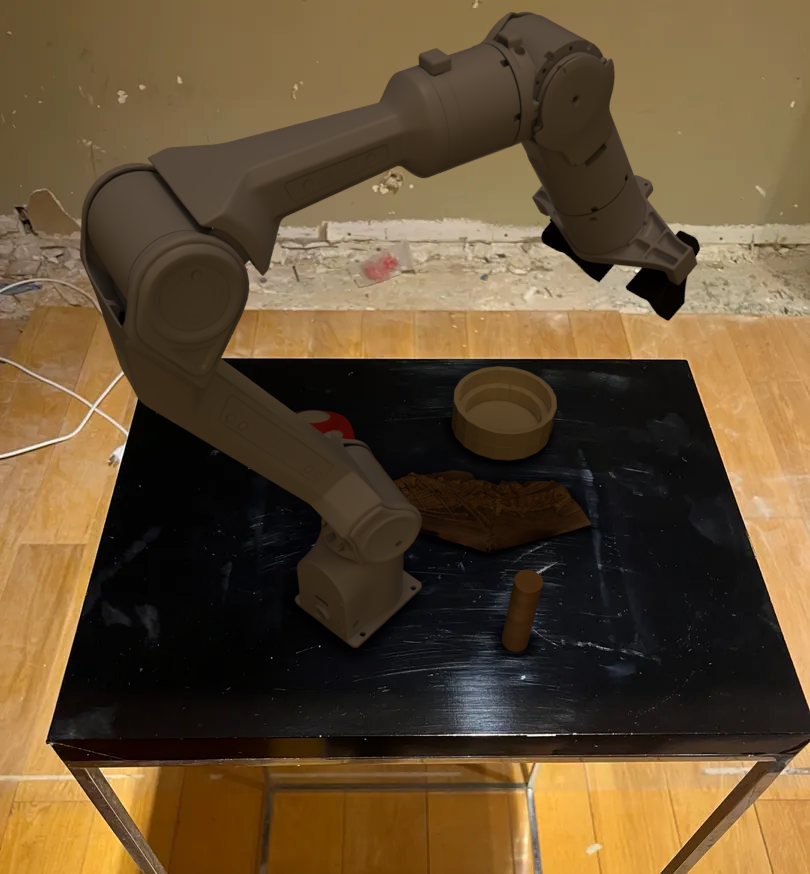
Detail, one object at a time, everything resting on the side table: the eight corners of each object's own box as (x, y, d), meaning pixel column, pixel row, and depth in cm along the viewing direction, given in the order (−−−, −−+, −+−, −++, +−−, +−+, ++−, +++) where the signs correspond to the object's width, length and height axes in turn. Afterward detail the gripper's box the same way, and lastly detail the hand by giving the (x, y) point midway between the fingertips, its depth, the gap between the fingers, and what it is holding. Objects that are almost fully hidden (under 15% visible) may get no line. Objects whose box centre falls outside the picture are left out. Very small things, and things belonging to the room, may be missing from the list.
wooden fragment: (589, 486, 88) (591, 479, 87) (593, 567, 81) (595, 560, 80) (349, 464, 89) (348, 457, 88) (332, 542, 82) (332, 535, 81)
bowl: (511, 479, 88) (516, 448, 85) (431, 431, 93) (433, 400, 89) (569, 427, 94) (576, 396, 91) (490, 384, 99) (495, 353, 95)
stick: (517, 656, 74) (532, 597, 67) (496, 641, 75) (508, 581, 68) (533, 639, 75) (548, 580, 68) (511, 625, 76) (525, 564, 69)
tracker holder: (318, 394, 95) (375, 421, 88) (319, 430, 97) (374, 458, 91) (226, 419, 87) (281, 450, 81) (230, 457, 90) (283, 490, 83)
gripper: (711, 169, 53) (742, 288, 64) (555, 104, 61) (607, 220, 72) (636, 256, 53) (680, 358, 65) (491, 180, 62) (552, 283, 73)
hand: (637, 290), depth 68 cm, fingers open, 7 cm apart
